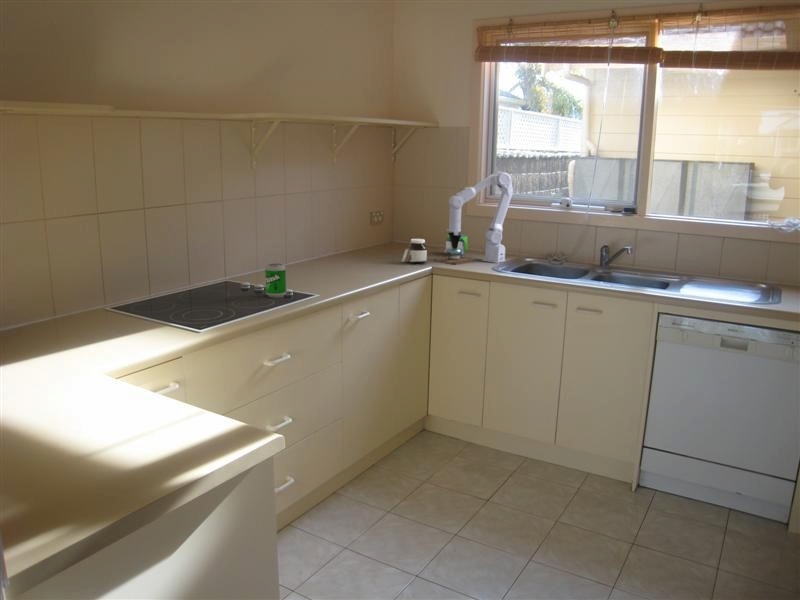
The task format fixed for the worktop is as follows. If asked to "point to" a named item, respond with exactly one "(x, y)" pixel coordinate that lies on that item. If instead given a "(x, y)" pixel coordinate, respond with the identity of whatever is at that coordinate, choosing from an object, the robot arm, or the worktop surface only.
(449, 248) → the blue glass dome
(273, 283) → the soda can
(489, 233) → the robot arm
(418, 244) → the spread jar
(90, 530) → the worktop surface
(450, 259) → the base plate
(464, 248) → the snack cup
